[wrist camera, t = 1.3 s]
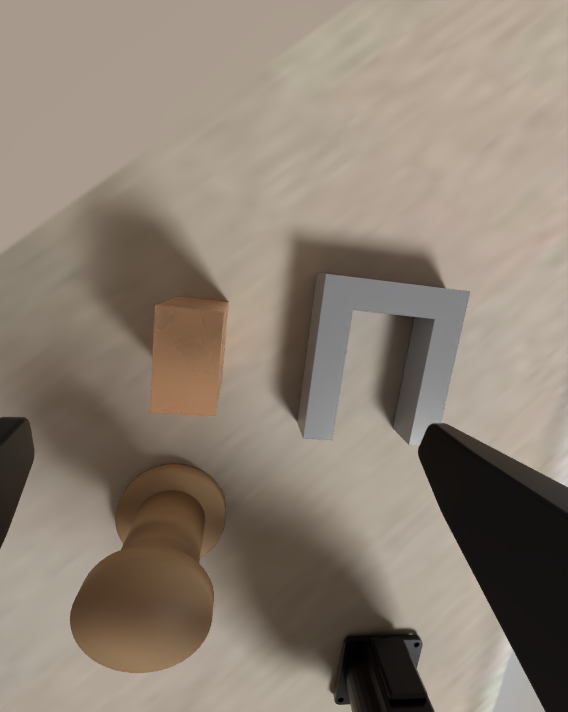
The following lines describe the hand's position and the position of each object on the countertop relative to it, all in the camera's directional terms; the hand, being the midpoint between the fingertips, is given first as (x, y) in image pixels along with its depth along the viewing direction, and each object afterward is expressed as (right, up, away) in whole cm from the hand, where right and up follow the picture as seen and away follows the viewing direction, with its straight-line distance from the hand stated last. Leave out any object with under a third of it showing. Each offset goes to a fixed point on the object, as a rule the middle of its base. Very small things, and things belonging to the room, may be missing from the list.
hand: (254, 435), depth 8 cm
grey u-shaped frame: (+6, +1, +16) cm, 17 cm away
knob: (-7, -9, +16) cm, 20 cm away
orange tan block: (-5, +3, +14) cm, 15 cm away
